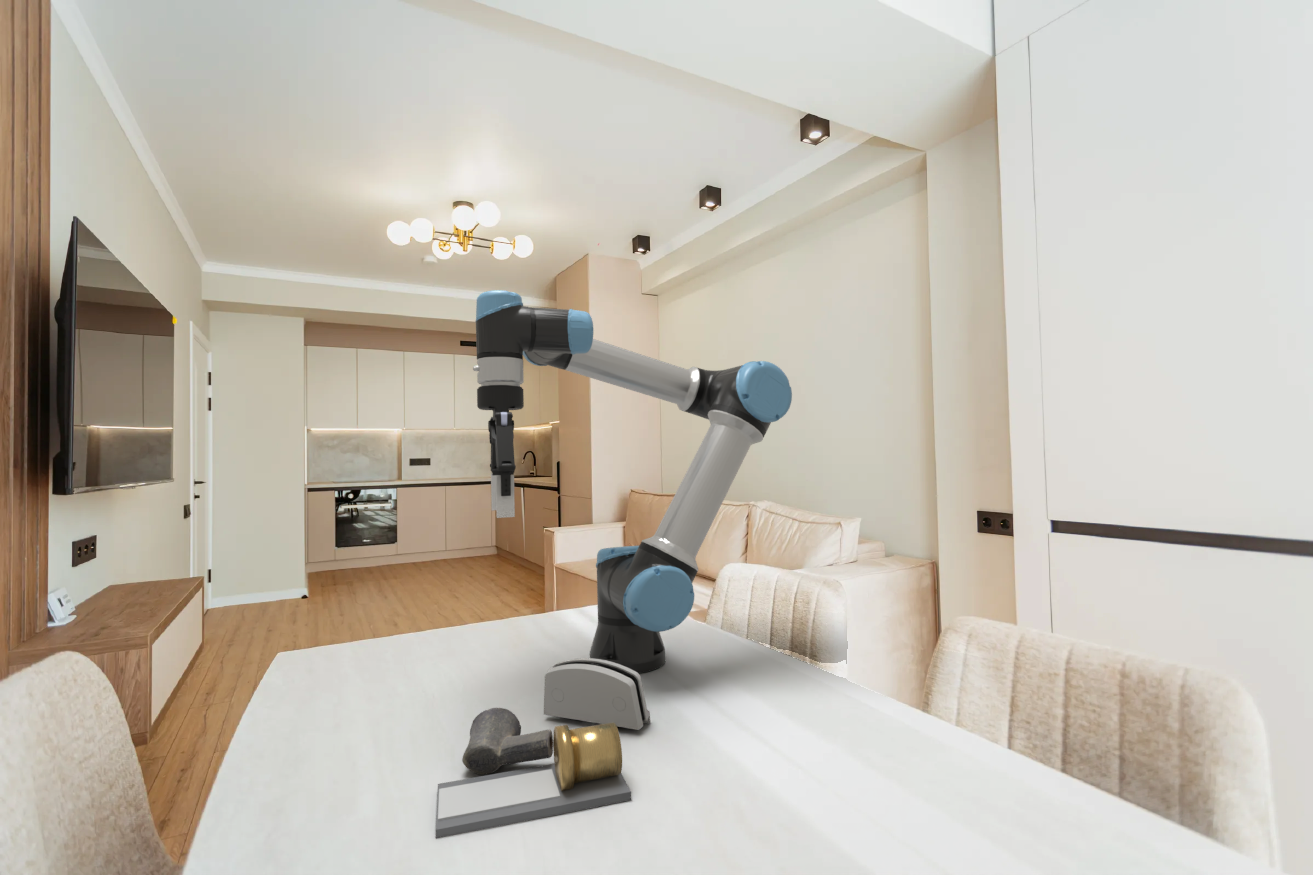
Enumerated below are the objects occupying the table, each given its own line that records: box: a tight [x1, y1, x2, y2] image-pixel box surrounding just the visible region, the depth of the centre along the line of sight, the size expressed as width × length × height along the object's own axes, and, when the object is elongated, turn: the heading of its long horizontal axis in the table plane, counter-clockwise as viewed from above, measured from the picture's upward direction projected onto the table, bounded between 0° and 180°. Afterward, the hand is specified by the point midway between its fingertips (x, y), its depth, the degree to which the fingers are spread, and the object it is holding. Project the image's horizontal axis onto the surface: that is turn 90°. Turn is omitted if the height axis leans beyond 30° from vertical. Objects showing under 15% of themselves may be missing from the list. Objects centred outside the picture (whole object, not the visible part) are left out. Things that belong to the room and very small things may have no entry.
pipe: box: [461, 707, 554, 776], centre depth 84 cm, size 6×13×8 cm
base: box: [435, 763, 632, 839], centre depth 76 cm, size 22×10×1 cm, turn 108°
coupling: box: [552, 723, 623, 791], centre depth 78 cm, size 7×7×7 cm
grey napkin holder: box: [543, 657, 652, 731], centre depth 96 cm, size 17×5×10 cm, turn 68°
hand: (502, 513), depth 104 cm, fingers open, 13 cm apart
